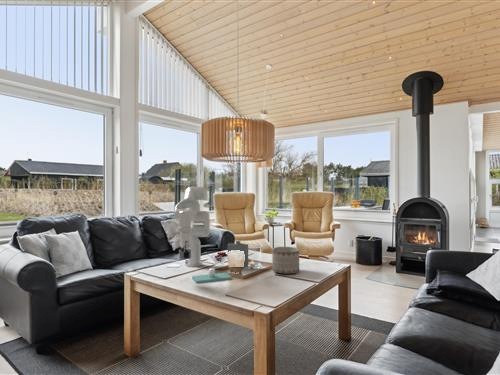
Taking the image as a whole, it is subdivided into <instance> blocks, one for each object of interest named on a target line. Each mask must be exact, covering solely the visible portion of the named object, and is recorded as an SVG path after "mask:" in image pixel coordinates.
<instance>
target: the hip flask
mask: <svg viewBox="0 0 500 375" xmlns="http://www.w3.org/2000/svg"><path fill="white" fill-rule="evenodd" d="M231 250H240V251H244V254H245V262H244V267H248V268H249V243H244V242H243V243H241V240H236V241H235V243H227V253H228V252H229V251H231ZM244 267H243V268H244Z"/></svg>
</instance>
